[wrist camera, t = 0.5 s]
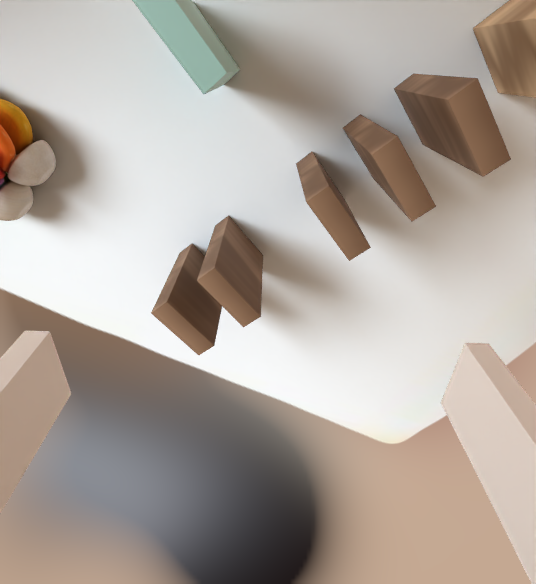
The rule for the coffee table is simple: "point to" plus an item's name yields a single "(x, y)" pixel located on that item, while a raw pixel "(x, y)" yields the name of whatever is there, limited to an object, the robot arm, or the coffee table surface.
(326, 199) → the domino
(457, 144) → the domino
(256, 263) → the domino
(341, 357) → the coffee table surface
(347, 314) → the coffee table surface
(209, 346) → the domino
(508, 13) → the end block
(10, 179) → the colorful disc cluster
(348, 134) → the domino
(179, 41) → the teal domino
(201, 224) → the coffee table surface
